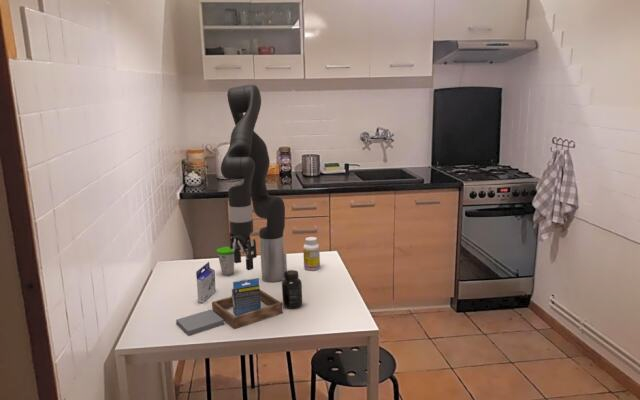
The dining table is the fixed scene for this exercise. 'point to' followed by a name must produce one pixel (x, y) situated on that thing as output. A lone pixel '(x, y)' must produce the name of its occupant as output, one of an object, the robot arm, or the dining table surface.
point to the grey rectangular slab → (199, 322)
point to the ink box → (205, 283)
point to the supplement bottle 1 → (292, 290)
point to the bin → (250, 317)
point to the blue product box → (246, 296)
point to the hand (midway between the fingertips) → (243, 266)
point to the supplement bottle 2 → (311, 254)
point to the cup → (226, 260)
